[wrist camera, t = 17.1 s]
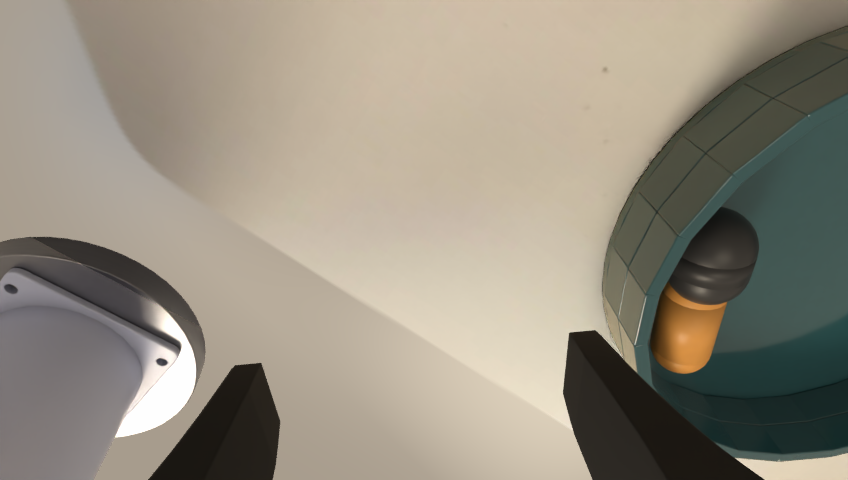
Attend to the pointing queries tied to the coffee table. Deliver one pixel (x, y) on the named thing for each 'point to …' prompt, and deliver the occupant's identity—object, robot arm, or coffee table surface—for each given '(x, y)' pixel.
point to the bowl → (775, 266)
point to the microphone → (703, 291)
